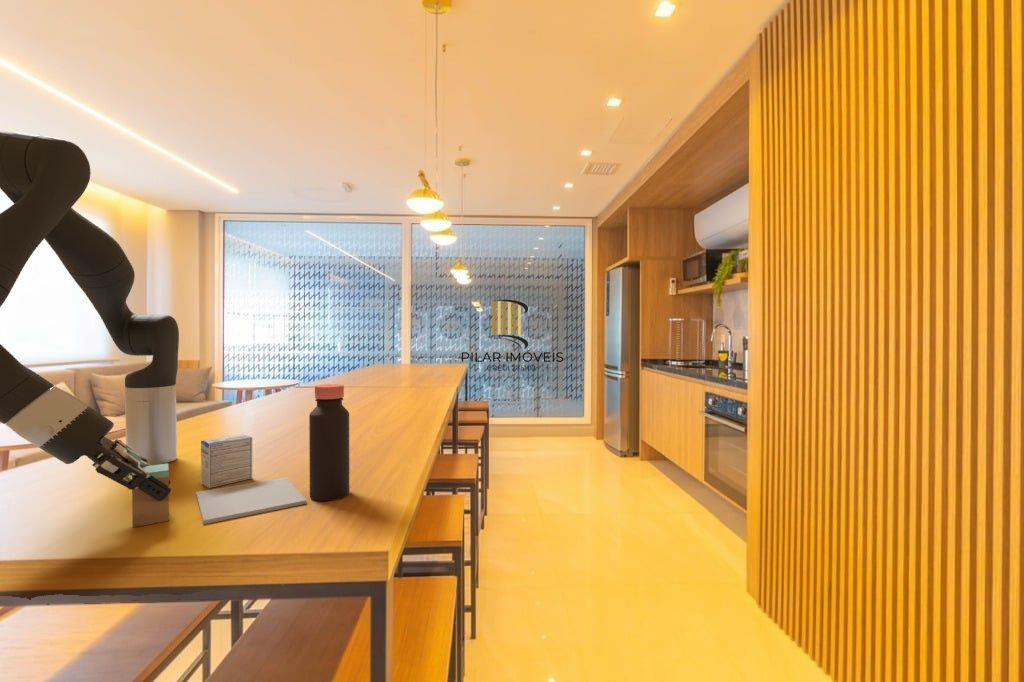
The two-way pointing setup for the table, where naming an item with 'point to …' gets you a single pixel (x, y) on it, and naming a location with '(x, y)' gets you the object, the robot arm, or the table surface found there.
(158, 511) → the walnut block
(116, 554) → the table surface
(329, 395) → the bottle
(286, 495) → the rubber mat
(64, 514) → the table surface
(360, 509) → the table surface
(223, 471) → the medicine box
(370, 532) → the table surface
